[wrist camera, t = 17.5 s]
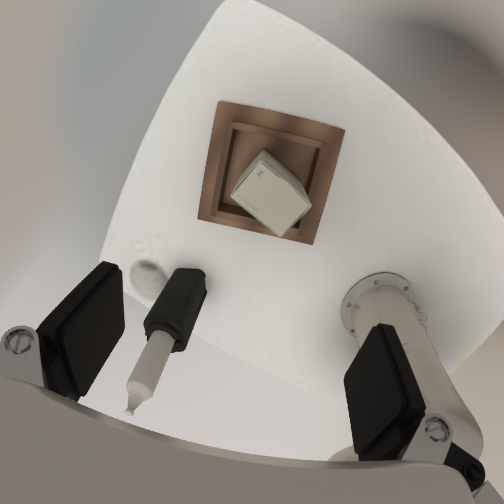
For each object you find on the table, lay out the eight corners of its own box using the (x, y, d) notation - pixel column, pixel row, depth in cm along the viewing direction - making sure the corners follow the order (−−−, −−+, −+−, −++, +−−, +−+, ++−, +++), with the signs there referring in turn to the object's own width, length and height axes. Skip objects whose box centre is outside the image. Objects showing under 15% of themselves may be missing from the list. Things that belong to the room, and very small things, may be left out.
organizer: (343, 129, 34) (351, 131, 30) (311, 242, 41) (315, 256, 37) (219, 101, 34) (211, 99, 30) (199, 216, 41) (190, 228, 37)
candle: (172, 267, 45) (96, 394, 22) (204, 269, 44) (144, 405, 22) (177, 295, 47) (114, 423, 24) (207, 297, 46) (158, 434, 24)
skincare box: (241, 171, 37) (225, 195, 26) (264, 145, 35) (258, 157, 24) (279, 203, 38) (279, 240, 27) (302, 178, 36) (313, 205, 25)
